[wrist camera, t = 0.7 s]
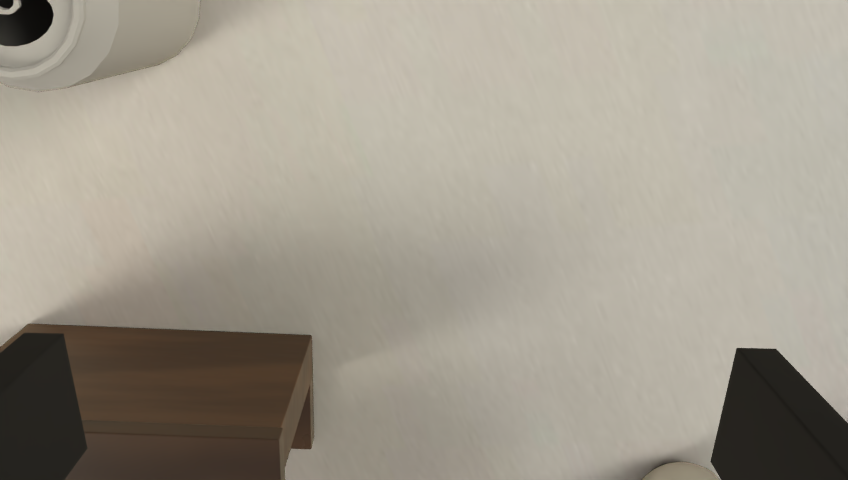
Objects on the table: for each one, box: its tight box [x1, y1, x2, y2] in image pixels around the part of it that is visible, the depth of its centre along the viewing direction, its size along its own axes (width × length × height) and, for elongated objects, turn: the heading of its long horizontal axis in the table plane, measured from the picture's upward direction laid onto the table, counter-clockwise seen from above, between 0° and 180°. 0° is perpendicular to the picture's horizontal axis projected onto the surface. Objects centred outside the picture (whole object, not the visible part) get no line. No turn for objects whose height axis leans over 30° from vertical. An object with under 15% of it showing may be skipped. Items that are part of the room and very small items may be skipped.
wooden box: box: [0, 324, 314, 480], centre depth 37 cm, size 8×18×11 cm, turn 88°
